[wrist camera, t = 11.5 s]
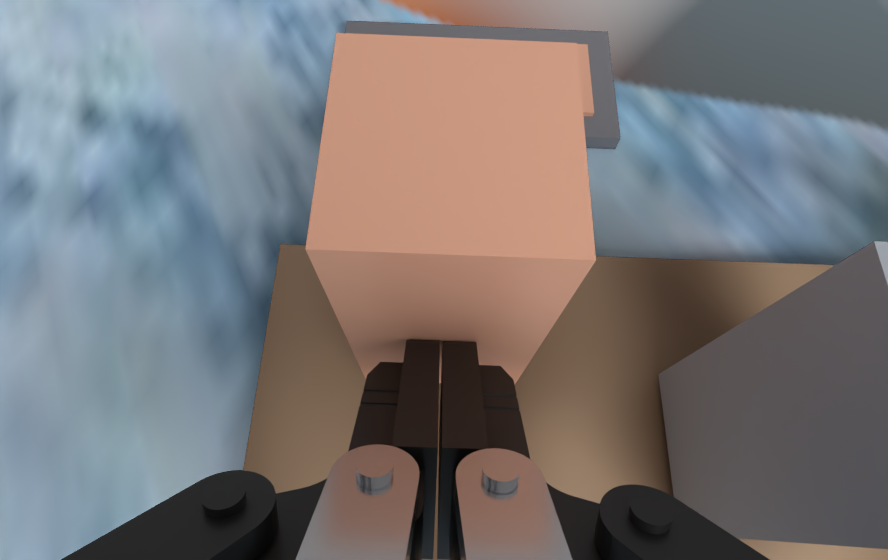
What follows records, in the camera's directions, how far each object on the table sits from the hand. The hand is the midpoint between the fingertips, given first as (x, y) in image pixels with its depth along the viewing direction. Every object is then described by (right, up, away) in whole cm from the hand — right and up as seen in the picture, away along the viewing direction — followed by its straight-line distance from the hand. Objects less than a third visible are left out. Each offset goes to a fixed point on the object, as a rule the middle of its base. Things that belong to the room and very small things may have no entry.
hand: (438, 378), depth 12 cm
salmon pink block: (0, +1, +4) cm, 4 cm away
